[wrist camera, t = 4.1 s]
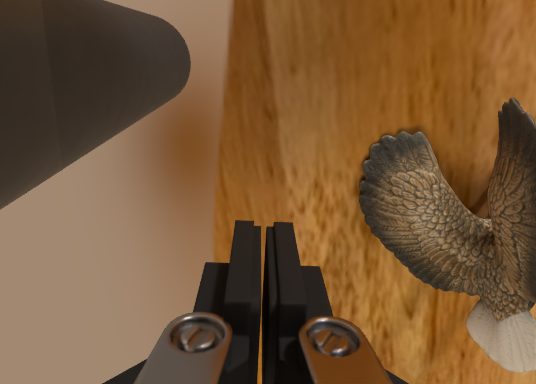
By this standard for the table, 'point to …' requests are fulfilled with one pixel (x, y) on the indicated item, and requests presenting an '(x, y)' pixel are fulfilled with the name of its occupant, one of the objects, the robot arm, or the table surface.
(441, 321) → the table surface
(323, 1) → the table surface
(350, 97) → the table surface
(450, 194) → the eagle figurine
